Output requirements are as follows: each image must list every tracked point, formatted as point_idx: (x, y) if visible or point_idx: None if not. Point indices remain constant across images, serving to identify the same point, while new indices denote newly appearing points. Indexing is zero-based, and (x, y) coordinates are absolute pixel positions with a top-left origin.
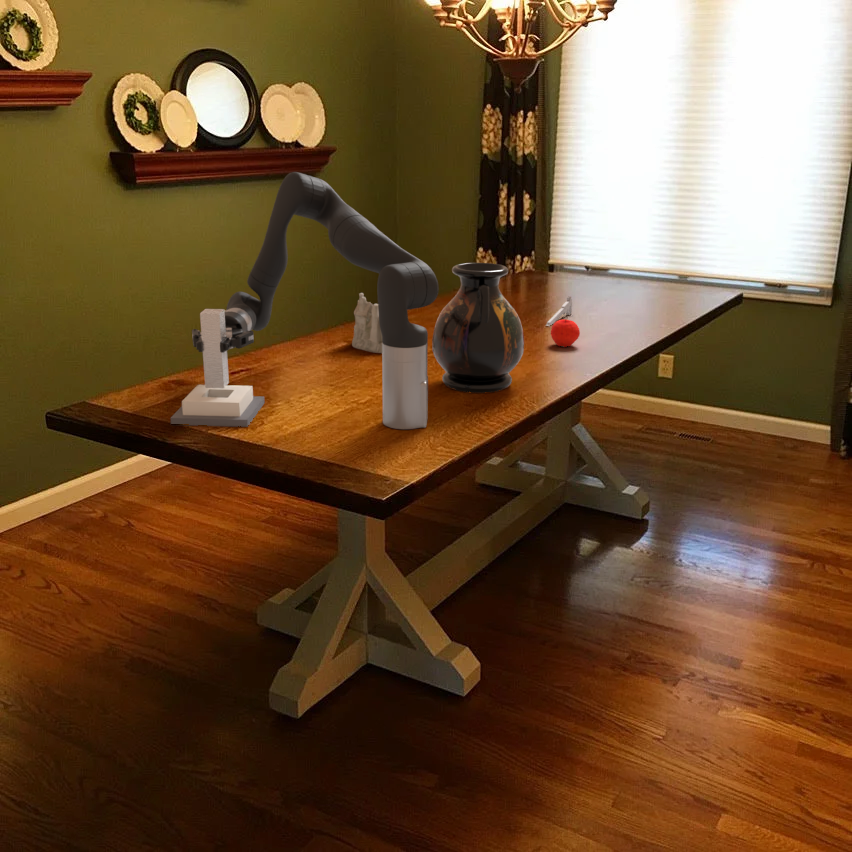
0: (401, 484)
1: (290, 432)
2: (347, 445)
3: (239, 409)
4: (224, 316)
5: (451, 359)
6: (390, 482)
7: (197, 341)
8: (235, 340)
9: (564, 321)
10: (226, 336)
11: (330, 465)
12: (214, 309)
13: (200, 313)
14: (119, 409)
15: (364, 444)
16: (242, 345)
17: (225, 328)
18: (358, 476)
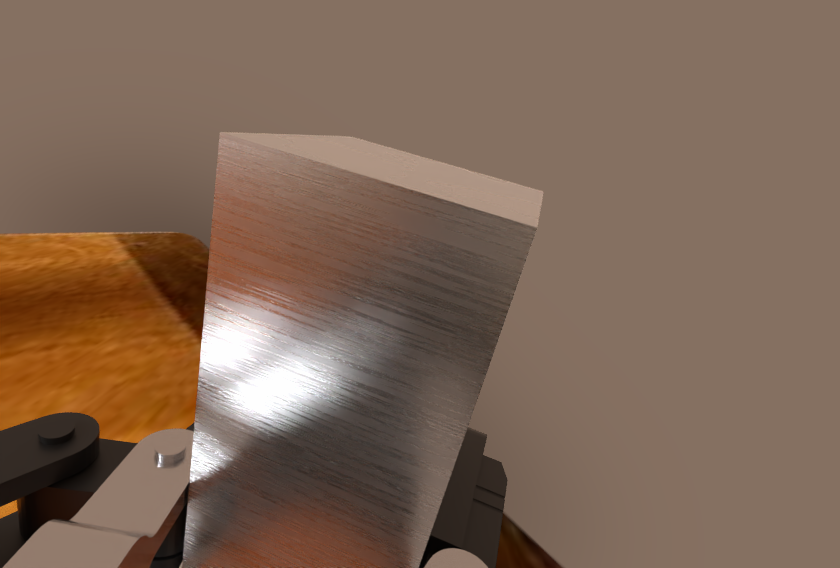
0: (130, 235)
1: (111, 439)
2: (55, 329)
3: None
4: (222, 240)
5: None
6: (139, 242)
7: (501, 505)
8: (116, 448)
9: None
10: (188, 477)
11: (176, 293)
12: (377, 175)
13: (537, 193)
14: None
15: (12, 319)
16: (14, 515)
17: (198, 401)
18: (166, 262)
